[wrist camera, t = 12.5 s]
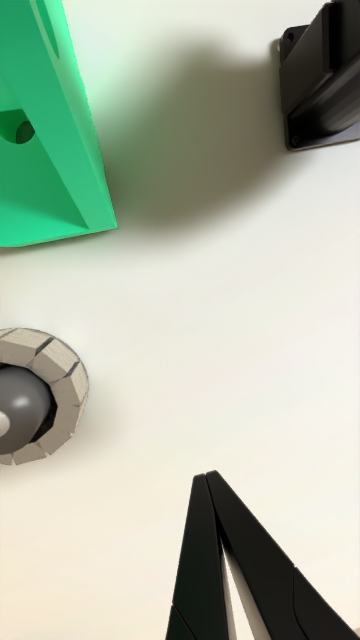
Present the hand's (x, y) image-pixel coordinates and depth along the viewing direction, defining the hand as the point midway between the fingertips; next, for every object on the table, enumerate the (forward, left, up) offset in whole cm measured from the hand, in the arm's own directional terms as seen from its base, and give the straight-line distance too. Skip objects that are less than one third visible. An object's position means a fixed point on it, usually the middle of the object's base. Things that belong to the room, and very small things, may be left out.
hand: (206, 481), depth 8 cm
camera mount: (+6, -16, -12) cm, 21 cm away
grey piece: (+12, 0, -12) cm, 17 cm away
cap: (+12, 0, -12) cm, 17 cm away
